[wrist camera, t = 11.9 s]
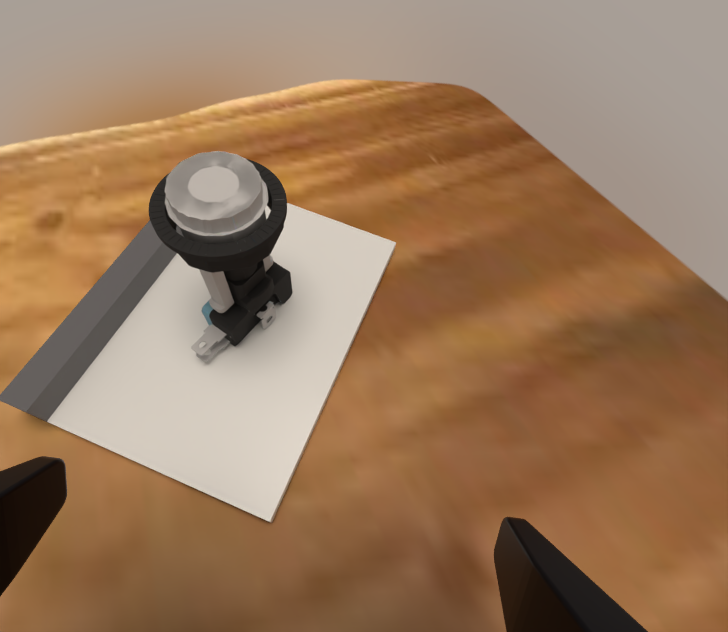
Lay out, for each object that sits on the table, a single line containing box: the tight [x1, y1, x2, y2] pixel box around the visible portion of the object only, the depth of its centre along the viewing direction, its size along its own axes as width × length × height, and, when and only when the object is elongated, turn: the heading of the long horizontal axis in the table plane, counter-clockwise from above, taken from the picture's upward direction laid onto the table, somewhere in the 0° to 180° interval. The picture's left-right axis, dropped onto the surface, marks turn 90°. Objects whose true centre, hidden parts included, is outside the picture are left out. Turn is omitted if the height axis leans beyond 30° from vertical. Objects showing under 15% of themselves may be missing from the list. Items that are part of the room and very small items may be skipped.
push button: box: [149, 151, 292, 362], centre depth 20 cm, size 7×5×10 cm
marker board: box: [0, 203, 396, 523], centre depth 24 cm, size 18×14×2 cm
